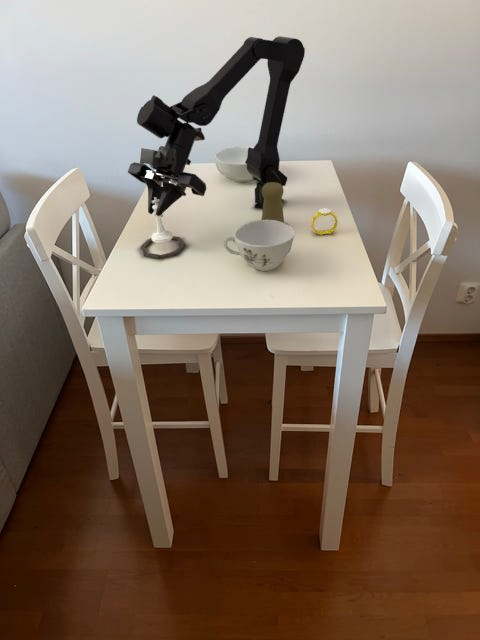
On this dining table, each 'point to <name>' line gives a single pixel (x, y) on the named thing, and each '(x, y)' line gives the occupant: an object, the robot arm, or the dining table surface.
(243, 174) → the cereal bowl
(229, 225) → the dining table surface
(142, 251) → the spot ring
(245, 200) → the dining table surface
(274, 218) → the cork
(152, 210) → the robot arm
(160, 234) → the chess piece
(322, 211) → the watch
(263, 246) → the teacup
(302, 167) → the dining table surface
